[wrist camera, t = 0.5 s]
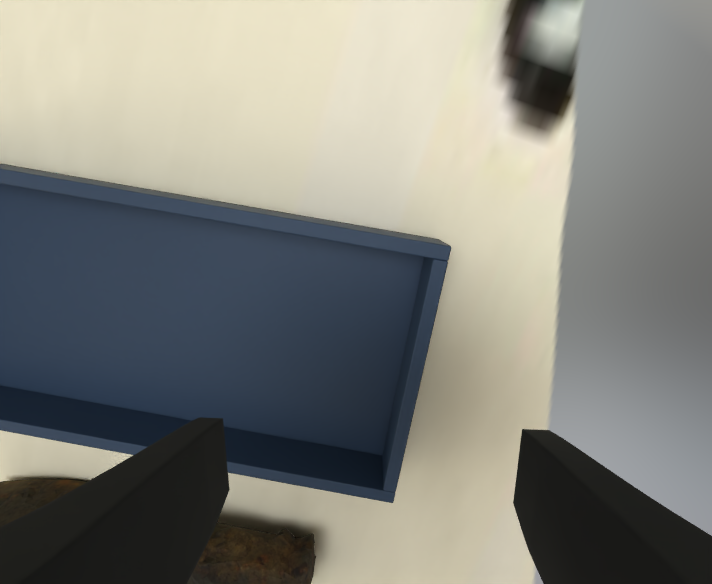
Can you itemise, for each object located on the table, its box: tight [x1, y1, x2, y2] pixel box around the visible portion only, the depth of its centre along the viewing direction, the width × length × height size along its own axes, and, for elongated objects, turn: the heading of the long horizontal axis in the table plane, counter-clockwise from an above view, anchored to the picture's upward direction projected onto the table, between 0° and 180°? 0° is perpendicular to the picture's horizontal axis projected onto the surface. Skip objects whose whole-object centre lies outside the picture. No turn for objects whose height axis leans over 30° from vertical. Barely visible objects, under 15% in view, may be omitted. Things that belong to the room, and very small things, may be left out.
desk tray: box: [0, 164, 451, 503], centre depth 18 cm, size 12×25×3 cm, turn 81°
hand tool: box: [0, 479, 316, 584], centre depth 20 cm, size 19×4×5 cm, turn 76°
